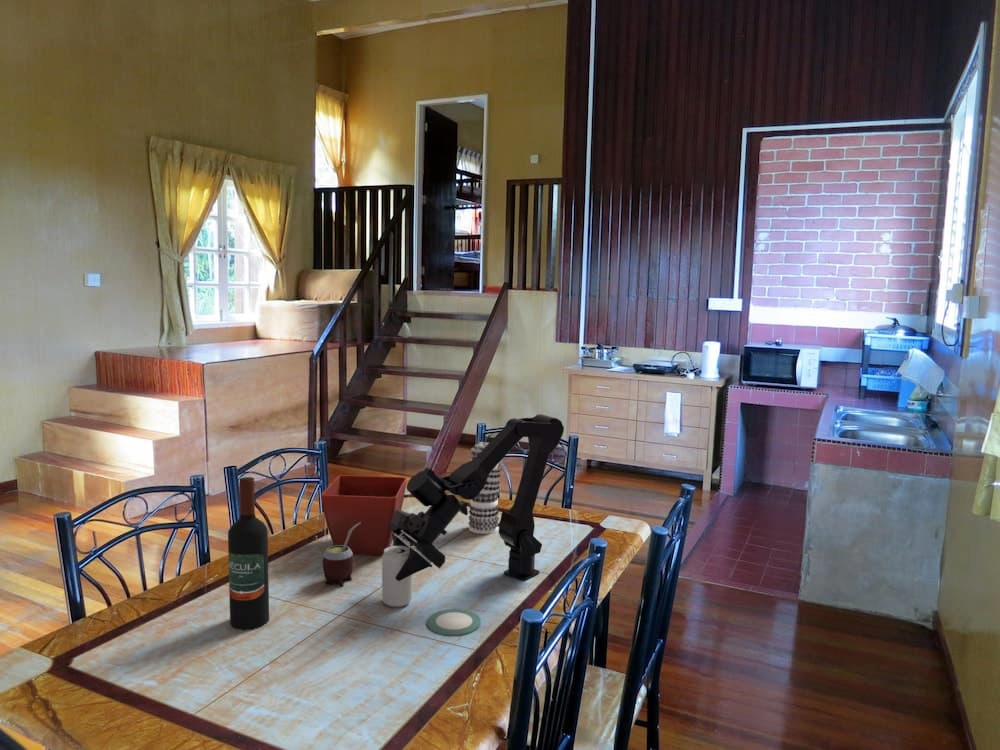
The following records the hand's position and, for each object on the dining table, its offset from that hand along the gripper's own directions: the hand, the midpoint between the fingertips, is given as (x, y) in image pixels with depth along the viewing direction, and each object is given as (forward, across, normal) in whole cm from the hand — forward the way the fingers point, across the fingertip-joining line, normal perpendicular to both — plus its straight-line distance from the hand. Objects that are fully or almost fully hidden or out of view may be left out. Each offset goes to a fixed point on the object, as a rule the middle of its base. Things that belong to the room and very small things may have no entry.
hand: (391, 574), depth 156 cm
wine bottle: (+25, -6, -15) cm, 30 cm away
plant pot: (-1, -35, +10) cm, 37 cm away
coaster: (-1, +15, +10) cm, 18 cm away
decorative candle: (-25, -33, +35) cm, 54 cm away
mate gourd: (+9, -16, +1) cm, 19 cm away
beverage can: (+4, 0, +6) cm, 7 cm away
